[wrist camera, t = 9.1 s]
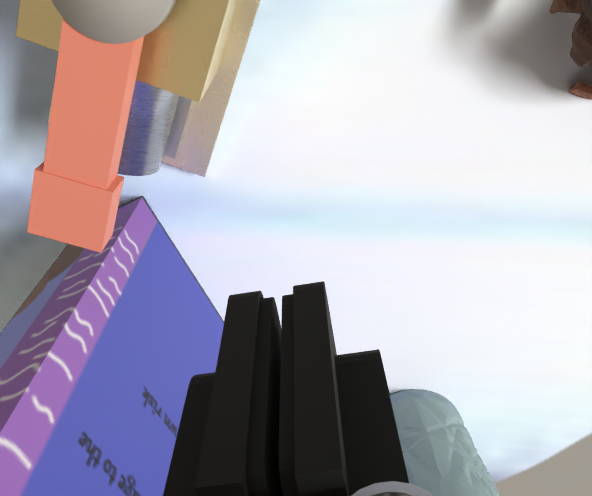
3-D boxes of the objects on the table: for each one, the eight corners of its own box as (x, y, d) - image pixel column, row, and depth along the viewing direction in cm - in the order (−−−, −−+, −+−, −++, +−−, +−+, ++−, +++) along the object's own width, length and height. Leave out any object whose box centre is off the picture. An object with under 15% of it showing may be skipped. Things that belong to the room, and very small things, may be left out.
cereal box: (83, 223, 39) (-167, 552, 17) (142, 196, 38) (-46, 508, 17) (207, 395, 46) (137, 773, 25) (259, 376, 45) (231, 751, 24)
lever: (69, -112, 20) (50, -118, 18) (190, -67, 20) (182, -69, 19) (29, 211, 26) (12, 228, 24) (125, 238, 26) (114, 256, 25)
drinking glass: (329, 431, 48) (340, 566, 38) (413, 359, 45) (451, 487, 34) (412, 482, 51) (444, 620, 41) (497, 419, 48) (556, 552, 37)
